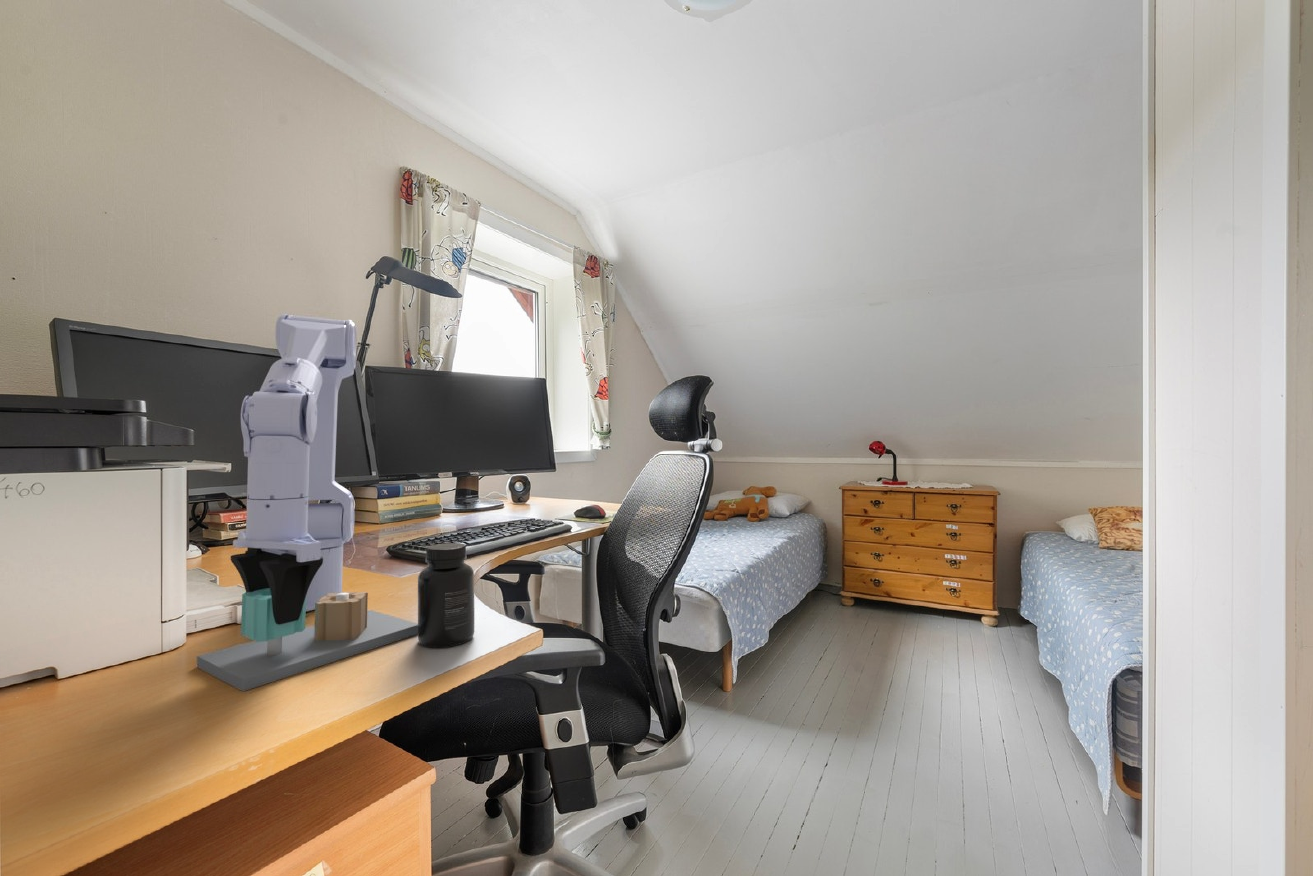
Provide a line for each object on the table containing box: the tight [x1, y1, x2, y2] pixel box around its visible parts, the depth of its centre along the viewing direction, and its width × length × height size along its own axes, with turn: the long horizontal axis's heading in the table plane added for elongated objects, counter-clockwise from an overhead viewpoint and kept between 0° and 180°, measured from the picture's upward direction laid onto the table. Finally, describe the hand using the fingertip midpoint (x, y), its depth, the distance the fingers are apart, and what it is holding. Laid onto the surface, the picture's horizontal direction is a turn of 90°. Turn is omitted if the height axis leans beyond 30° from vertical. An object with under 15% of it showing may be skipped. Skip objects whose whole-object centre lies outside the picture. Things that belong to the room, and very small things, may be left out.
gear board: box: [196, 591, 418, 692], centre depth 65 cm, size 11×20×6 cm, turn 149°
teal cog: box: [240, 588, 307, 642], centre depth 61 cm, size 5×5×4 cm
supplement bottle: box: [417, 542, 475, 649], centre depth 69 cm, size 7×7×12 cm
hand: (275, 617), depth 61 cm, fingers closed on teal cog, 5 cm apart
